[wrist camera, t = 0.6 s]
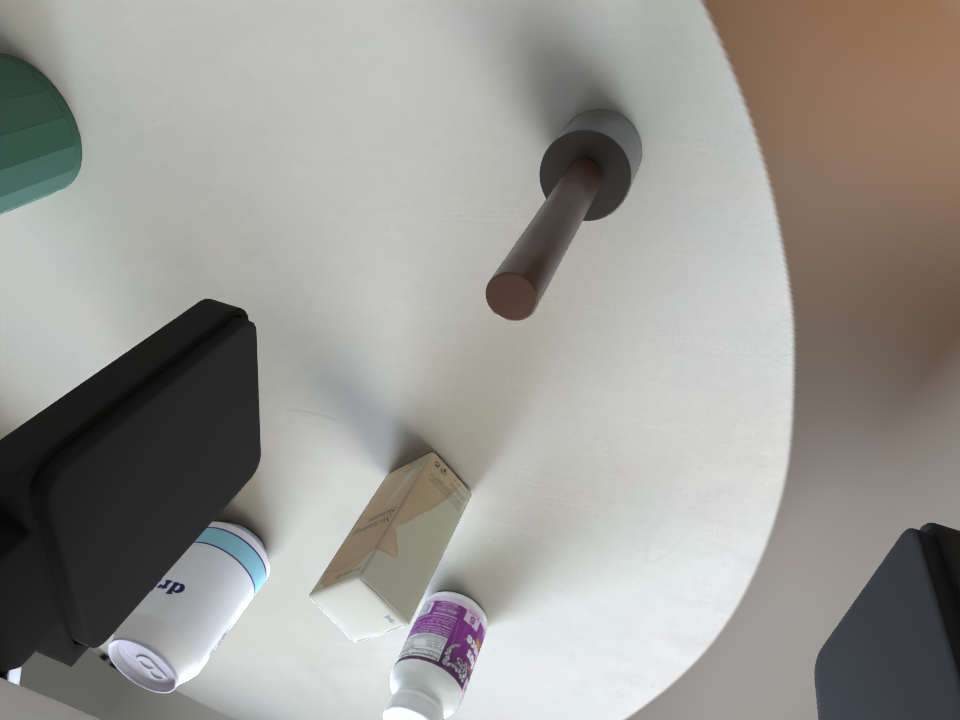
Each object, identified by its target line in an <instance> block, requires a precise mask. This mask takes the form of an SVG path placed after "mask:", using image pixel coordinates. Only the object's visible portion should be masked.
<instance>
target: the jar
mask: <svg viewBox="0 0 960 720" xmlns="http://www.w3.org/2000/svg"><path fill="white" fill-rule="evenodd" d="M81 160H82V147H81V140H80V135H79V132H78V128H77V125H76V123H75V120H74V118H73V116H72V113H71V111H70V109H69V108H68V106H67V104H66V102H65V101H64V99H63V98H62V96H61V95H60V93H59V92H58V91H57V90H56V88H55V87H54V86H53V85H52V84H51V83H50V82H49V80H48V79H47V78H46V77H45V76H43V75H42V74H41V73H40V72H39V71H38V70H36V69H35V68H34V67H32V66H31V65H29V64H28V63H26V62H24V61H22V60H20V59H18V58H15V57H13V56H9V55H5V54H0V214H3V213H5V212H8V211H10V210H13V209H15V208H18V207H20V206H23V205H25V204H28V203H30V202H33V201H36V200H38V199H41V198H43V197H46V196H48V195H51V194H53V193H54V192H56V191H58V190H61V189H63V188H66V187H67V186H68V185H70V184H71V183H72V182H73V181H74V179H75V178H76V176H77V175H78V172H79V170H80V166H81Z"/></svg>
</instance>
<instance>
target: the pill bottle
mask: <svg viewBox="0 0 960 720" xmlns="http://www.w3.org/2000/svg"><path fill="white" fill-rule="evenodd" d="M487 625H488V624H487V618H486V615H485V613H484V612H483V610H482V609H481V608H480V607H479V606H478V605H477V604H476V603H475V602H474V601H473V600H471V599H470V598H468V597H466V596H464V595H462V594H459V593H455V592H448V591H443V592H437V593H434V594H432V595H431V596H430V597H428V598H427V599H426V601H425V603H424V605H423V607H422V609H421V611H420V613H419V615H418V617H417V619H416V621H415V623H414V625H413V627H412V629H411V631H410V633H409V636H408V638H407V640H406V642H405V644H404V646H403V649H402V651H401V653H400V655H399V657H398V659H397V661H396V663H395V666H394V668H393V670H392V673H391V677H390V685H391V689H392V692H393V694H392V695H391V696H390V698H389V701H388V704H387V706H386V708H385V711H384V715H383V717H384V720H444V718H446V717H448V716H450V715H452V714H453V713H454V712H455V711H456V710H457V709H458V708H459V706H460V704H461V702H462V699H463V696H464V694H465V691H466V688H467V685H468V682H469V679H470V676H471V674H472V671H473V668H474V665H475V662H476V660H477V657H478V654H479V651H480V648H481V646H482V643H483V640H484V637H485V634H486V631H487Z"/></svg>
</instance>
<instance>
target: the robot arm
mask: <svg viewBox="0 0 960 720" xmlns="http://www.w3.org/2000/svg"><path fill="white" fill-rule="evenodd" d="M260 457H261V445H260V418H259V390H258V363H257V335H256V327H255V325H254V323H253V322H251V321H249V320H248V315H247V313H246V311H244V310H243V309H241V308H238V307H235V306H232V305H229V304H225V303H222V302H219V301H216V300H212V299H204V300H202V301H200V302H198V303H197V304H195V305H194V306H193V307H191V308H190V309H188V310H187V311H185V312H184V313H182V314H181V315H180V316H178V317H177V318H175V319H174V320H172V321H171V322H169V323H168V324H167V325H165V326H164V327H162V328H161V329H159V330H158V331H157V332H155V333H154V334H152V335H151V336H149V337H148V338H146V339H145V340H144V341H142V342H141V343H139V344H138V345H136V346H135V347H133V348H132V349H131V350H129V351H128V352H126V353H125V354H123V355H122V356H121V357H119V358H118V359H116V360H115V361H113V362H112V363H110V364H109V365H108V366H106V367H105V368H103V369H102V370H100V371H99V372H97V373H96V374H95V375H93V376H92V377H90V378H89V379H87V380H86V381H85V382H83V383H82V384H80V385H79V386H77V387H76V388H74V389H73V390H72V391H70V392H69V393H67V394H66V395H64V396H63V397H61V398H60V399H59V400H57V401H56V402H54V403H53V404H51V405H50V406H49V407H47V408H46V409H44V410H43V411H41V412H40V413H38V414H37V415H36V416H34V417H33V418H31V419H30V420H28V421H27V422H25V423H24V424H23V425H21V426H20V427H18V428H17V429H15V430H14V431H13V432H11V433H10V434H8V435H7V436H5V437H4V438H2V439H1V440H0V720H100V719H98V718H96V717H93V716H91V715H89V714H86V713H84V712H82V711H79V710H77V709H74V708H73V707H70V706H68V705H65V704H63V703H61V702H58V701H56V700H53V699H51V698H49V697H46V696H43V695H41V694H39V693H36V692H34V691H32V690H29V689H27V688H24V687H22V686H19V684H20V675H21V666H22V665H23V664H24V663H25V662H26V661H27V660H28V659H29V657H31V656H32V654H33V653H34V652H35V651H36V650H37V652H38V653H41V654H43V655H45V656H48V657H50V658H52V659H55V660H57V661H59V662H62V663H64V664H66V665H69V666H73V664H74V663H75V662H76V661H77V660H78V659H79V658H80V657H81V656H82V654H83V653H84V652H85V651H86V650H87V649H88V648H89V647H91V648H96V647H99V646H100V645H102V644H103V643H104V642H106V641H107V640H108V639H109V638H110V636H111V635H112V634H113V633H114V632H115V631H116V630H117V629H118V627H119V626H120V625H121V624H122V623H123V622H124V621H125V620H126V618H127V617H128V616H129V615H130V614H131V613H132V612H133V611H134V609H135V608H136V607H137V606H138V605H139V604H140V603H141V602H142V600H143V599H144V598H145V597H146V596H147V595H148V594H149V593H150V591H151V590H152V589H153V588H154V587H155V586H156V585H157V584H158V582H159V581H160V580H161V579H162V578H163V577H164V576H165V575H166V573H167V572H168V571H169V570H170V569H171V568H172V567H173V565H174V564H175V563H176V562H177V561H178V560H179V559H180V558H181V556H182V555H183V554H184V553H185V552H186V551H187V550H188V549H189V547H190V546H191V545H192V544H193V543H194V542H195V541H196V540H197V538H198V537H199V536H200V535H201V534H202V533H203V532H204V531H205V529H206V528H207V527H208V526H209V525H210V524H211V523H212V522H213V520H214V519H215V518H216V517H217V516H218V515H219V514H220V513H221V511H222V510H223V509H224V508H225V507H226V506H227V505H228V504H229V502H230V501H231V500H232V499H233V498H234V497H235V496H236V495H237V493H238V492H239V491H240V490H241V489H242V488H243V487H244V485H245V484H246V483H247V482H248V481H249V480H250V479H251V478H252V476H253V475H254V473H255V471H256V470H257V467H258V465H259V462H260ZM814 674H815V687H816V698H817V709H818V719H819V720H960V531H958V530H955V529H951V528H948V527H945V526H942V525H939V524H936V523H927V524H926V525H924V526H922V527H921V529H920V530H917V529H913V528H909V529H907V530H906V531H905V532H904V533H903V534H902V535H901V536H900V538H899V539H898V540H897V542H896V543H895V545H894V546H893V548H892V549H891V550H890V552H889V553H888V555H887V556H886V557H885V559H884V560H883V562H882V563H881V565H880V566H879V567H878V569H877V570H876V572H875V573H874V575H873V576H872V577H871V579H870V580H869V582H868V583H867V585H866V586H865V587H864V589H863V590H862V592H861V593H860V595H859V596H858V597H857V599H856V600H855V601H854V603H853V604H852V606H851V607H850V609H849V610H848V612H847V613H846V614H845V616H844V617H843V619H842V620H841V622H840V623H839V624H838V626H837V627H836V629H835V630H834V631H833V633H832V634H831V636H830V637H829V638H828V640H827V641H826V643H825V644H824V645H823V647H822V648H821V650H820V652H819V654H818V657H817V660H816V664H815V672H814Z"/></svg>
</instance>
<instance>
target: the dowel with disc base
mask: <svg viewBox="0 0 960 720" xmlns="http://www.w3.org/2000/svg"><path fill="white" fill-rule="evenodd" d="M641 157H642V146H641V141H640V137H639V135H638V132H637V131H636V129H635V127H634V126H633V125H632V123H631V122H630V121H629V120H628V119H626V118H625V117H624V116H622V115H620V114H618V113H616V112H614V111H610V110H604V109H596V110H590V111H587V112H584V113H582V114H580V115H578V116H577V117H575V118H574V119H573V120H572V121H571V122H570V123H569V124H568V125H567V126H566V127H565V129H564V130H563V131H562V132H561V133H560V135H559V136H558V137H557V138H556V139H555V140H554V142H553V143H552V144H551V145H550V146H549V148H548V149H547V151H546V152H545V154H544V156H543V159H542V162H541V166H540V183H541V188H542V191H543V193H544V195H545V197H546V201H545V202H544V204H543V205H542V206H541V208H540V209H539V211H538V212H537V214H536V215H535V216H534V218H533V219H532V221H531V222H530V224H529V225H528V227H527V228H526V229H525V231H524V232H523V234H522V235H521V237H520V238H519V239H518V241H517V242H516V244H515V245H514V247H513V248H512V250H511V251H510V252H509V254H508V255H507V257H506V258H505V260H504V261H503V262H502V264H501V265H500V267H499V268H498V270H497V271H496V273H495V274H494V275H493V277H492V278H491V280H490V281H489V283H488V285H487V288H486V299H487V302H488V305H489V307H490V308H491V309H492V311H493V312H494V313H495V314H497V315H498V316H499V317H501V318H503V319H506V320H510V321H519V320H523V319H526V318H528V317H529V316H531V315H532V314H533V312H534V311H535V309H536V308H537V306H538V304H539V302H540V300H541V298H542V296H543V294H544V292H545V291H546V289H547V287H548V285H549V283H550V281H551V279H552V277H553V275H554V274H555V272H556V270H557V268H558V266H559V264H560V262H561V260H562V258H563V256H564V255H565V253H566V251H567V249H568V247H569V245H570V243H571V241H572V239H573V238H574V236H575V234H576V232H577V230H578V228H579V226H580V224H581V222H582V221H593V220H598V219H601V218H604V217H606V216H608V215H610V214H611V213H613V212H614V211H615V210H616V209H617V208H619V207H620V205H621V204H622V203H623V202H624V200H625V198H626V197H627V194H628V192H629V190H630V187H631V185H632V182H633V180H634V178H635V175H636V173H637V170H638V168H639V165H640V162H641Z"/></svg>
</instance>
